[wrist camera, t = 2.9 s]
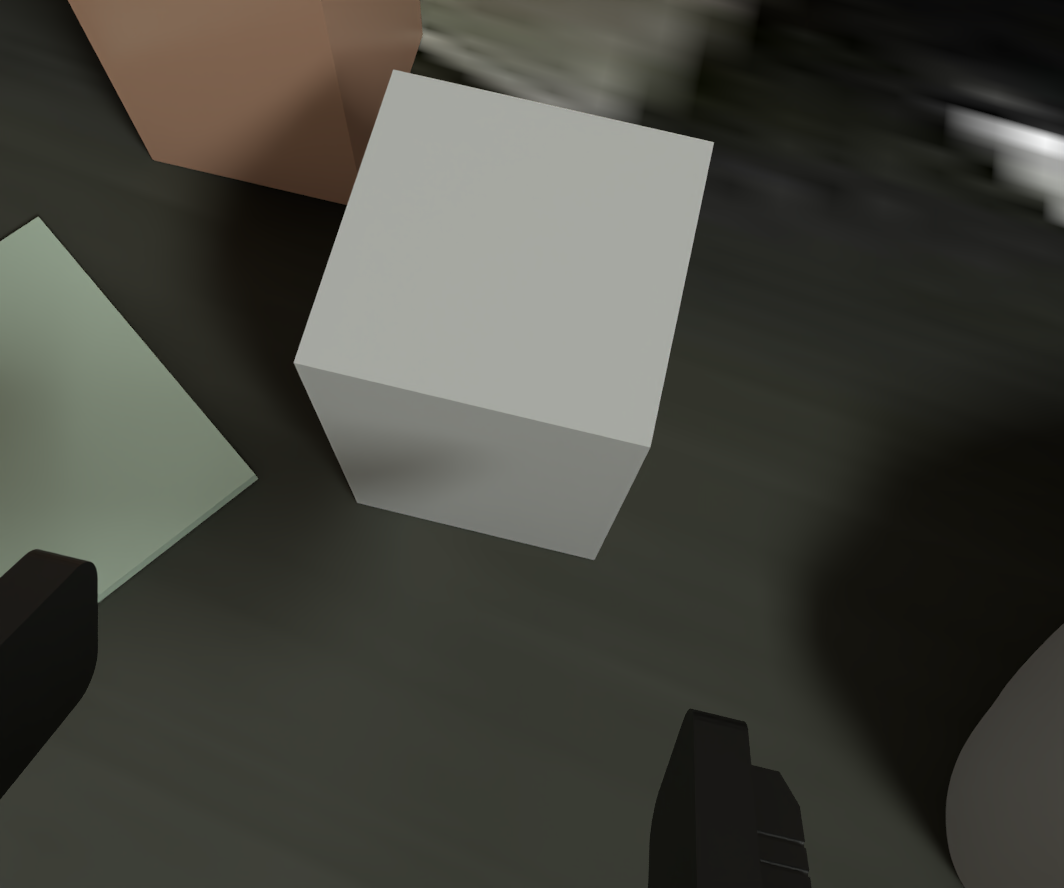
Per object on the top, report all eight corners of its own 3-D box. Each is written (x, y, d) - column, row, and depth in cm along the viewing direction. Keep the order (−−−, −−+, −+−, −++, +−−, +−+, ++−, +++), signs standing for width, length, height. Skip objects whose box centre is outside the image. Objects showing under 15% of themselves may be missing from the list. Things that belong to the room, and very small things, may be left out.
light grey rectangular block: (641, 342, 28) (714, 142, 20) (594, 560, 26) (650, 448, 18) (421, 290, 29) (393, 69, 20) (357, 502, 27) (293, 362, 18)
